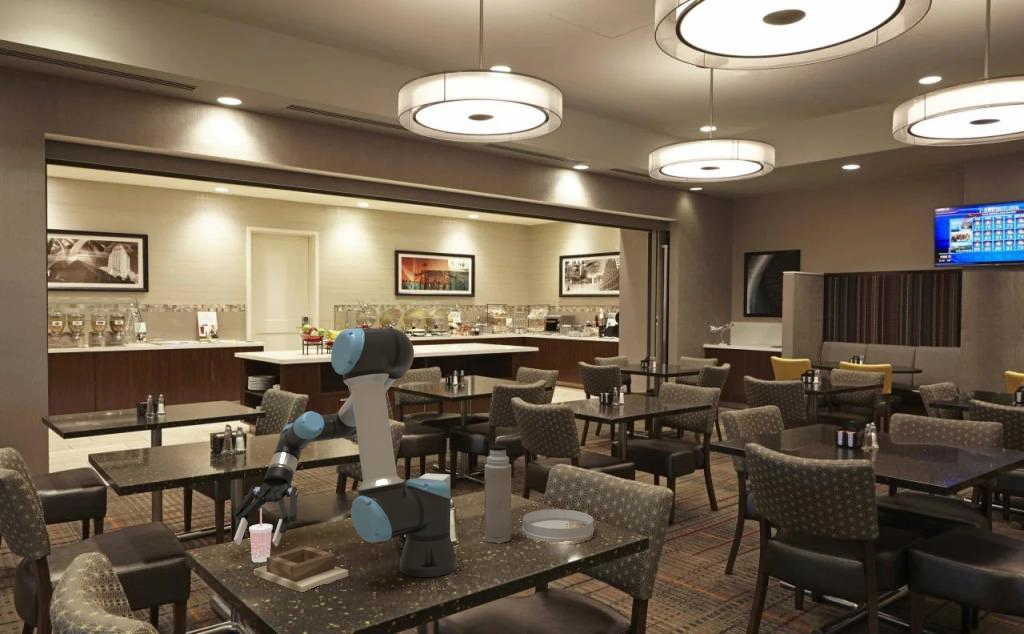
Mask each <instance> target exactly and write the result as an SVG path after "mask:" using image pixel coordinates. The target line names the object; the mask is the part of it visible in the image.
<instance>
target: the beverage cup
mask: <svg viewBox="0 0 1024 634" xmlns="http://www.w3.org/2000/svg"><path fill="white" fill-rule="evenodd" d="M259 519H260V520H259V523H258V524H253V525H251V526H249V528H248V530H249V531H248V532H249V533H250V538H249V539H250V551H251V552H250V553H251V554H250V555H251V561H253V563H257V562H258V563H264V562H267V557H270V556H271V547H272V546H271V543H272V532H273V531H272V530H273V528H274V526H273V524H270V523H263V508H262V507H259Z"/></svg>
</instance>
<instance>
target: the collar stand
mask: <svg viewBox="0 0 1024 634" xmlns="http://www.w3.org/2000/svg"><path fill="white" fill-rule="evenodd" d="M335 560H336V554H334V553H330V552H328V551H323V550H321V549H318V548H314V547H311V546H308V545H303V546H301V547H297V548H294V549H291V550H287V551H284V552H282V553H281V552H280V553H277V554H275V555H270V557H267V561H266V564H265V565H263V566H260V567H257V568H254V569H253V575H254V576H255V577H259V578H260V579H263V580H266V581H269V582H272V583H274V584H277V585H278V586H279V585H280V586H282V587H285V588H288V589H290V590H293V591H296V592H298V591H299V592H298V593H301V592H304V593H306V592H305V591H307V590H308V589H311V588H314V587H316V586H319V585H322V584H326V585H328V584H331V583H333V582H336V580H337V581H339V580H341V579H344V578H348V577H349V570H348V569H344V568H342V567H338V566H336V561H335ZM307 592H308V591H307Z"/></svg>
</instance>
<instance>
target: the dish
mask: <svg viewBox="0 0 1024 634" xmlns="http://www.w3.org/2000/svg"><path fill="white" fill-rule="evenodd" d="M569 521H575V522H580V523H584V524H586V526H582V527H578V528H569V527H570V526H569ZM567 523H568V525H565V524H567ZM566 526H568V527H566ZM566 528H567V529H566ZM521 529H522V530H521V533H522V532H523V534H524V535H526V536H527V537H529V538H531V539H535V540H539V541H546V542H564V541H575V540H579V539H584V538H586V537H589V536H591V535H592V534H593V532H594V533H595V527H594V518H593V516H591V515H590V514H589V513H586V512H582V511H577V510H574V509H572V510H570V509H560V508H552V509H551V508H550V509H539V510H535V511H530V512H528V513H526V514H524V515H523V517H522V526H521ZM523 534H522V535H523Z"/></svg>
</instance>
